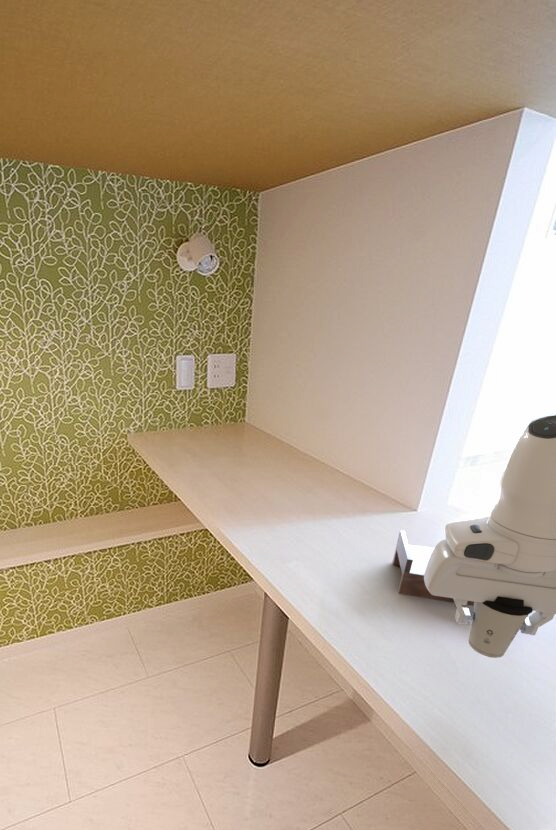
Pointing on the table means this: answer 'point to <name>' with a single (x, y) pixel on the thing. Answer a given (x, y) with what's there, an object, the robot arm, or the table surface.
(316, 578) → the table surface
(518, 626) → the coffee cup
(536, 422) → the robot arm
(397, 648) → the table surface
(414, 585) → the stand
